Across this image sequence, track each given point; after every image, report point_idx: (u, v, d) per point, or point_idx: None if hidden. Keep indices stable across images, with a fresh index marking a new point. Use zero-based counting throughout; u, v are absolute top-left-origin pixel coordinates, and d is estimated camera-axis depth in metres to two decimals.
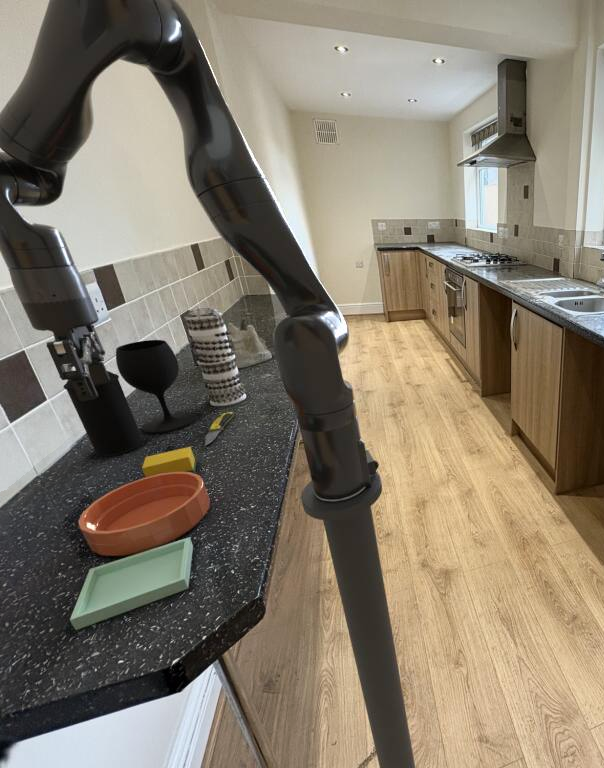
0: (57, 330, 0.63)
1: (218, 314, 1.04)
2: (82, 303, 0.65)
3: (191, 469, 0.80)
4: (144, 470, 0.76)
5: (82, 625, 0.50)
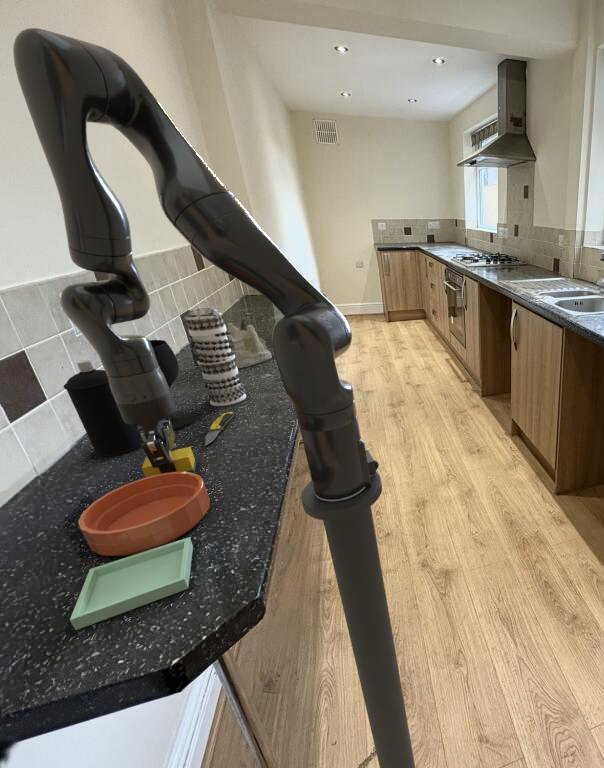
0: (146, 425, 0.72)
1: (218, 314, 1.04)
2: (165, 399, 0.74)
3: (191, 469, 0.80)
4: (144, 470, 0.76)
5: (82, 625, 0.50)
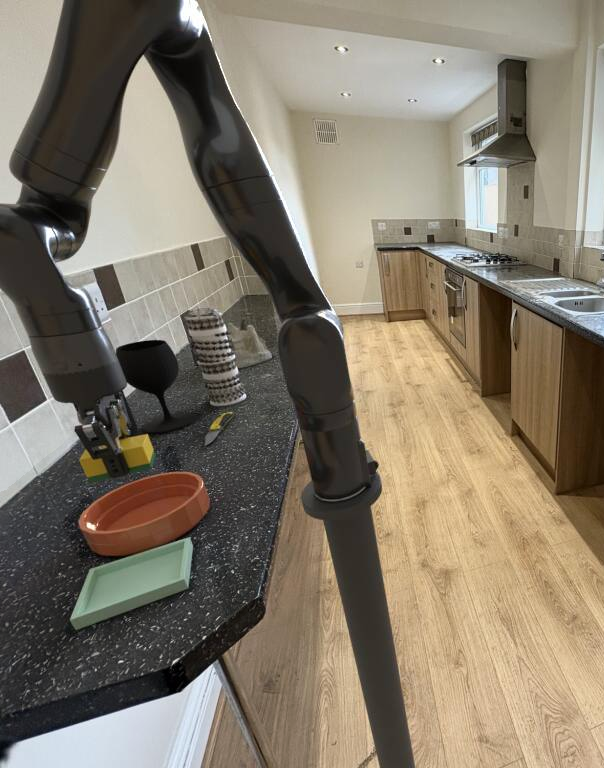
0: (82, 403, 0.55)
1: (218, 314, 1.04)
2: (110, 370, 0.57)
3: (147, 462, 0.62)
4: (82, 463, 0.58)
5: (82, 625, 0.50)
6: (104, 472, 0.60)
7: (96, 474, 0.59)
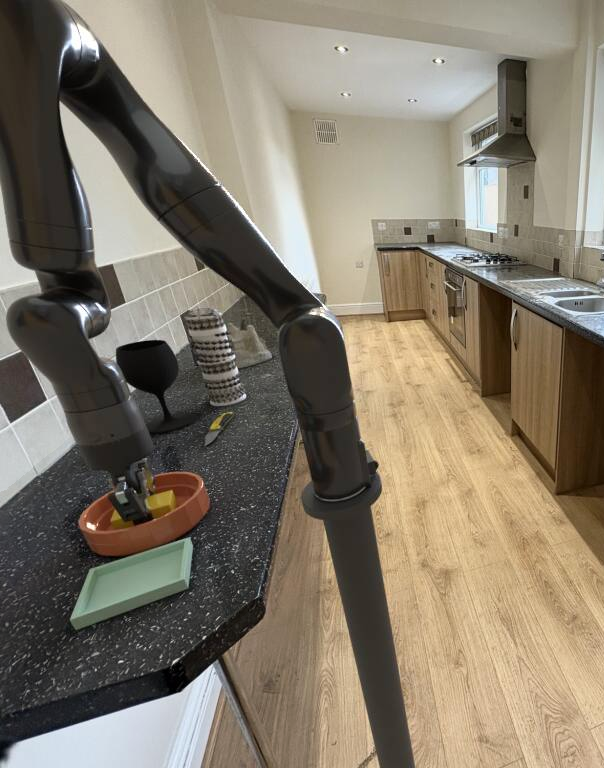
0: (114, 470, 0.58)
1: (218, 314, 1.04)
2: (139, 436, 0.60)
3: None
4: (113, 524, 0.61)
5: (82, 625, 0.50)
6: None
7: None
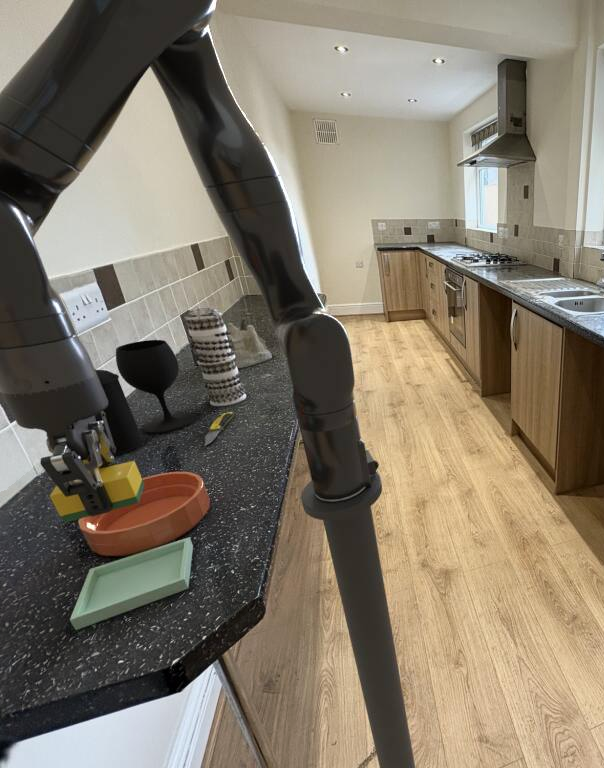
0: (51, 428, 0.45)
1: (218, 314, 1.04)
2: (86, 387, 0.47)
3: (133, 496, 0.52)
4: (54, 499, 0.48)
5: (82, 625, 0.50)
6: (81, 509, 0.50)
7: (71, 512, 0.49)
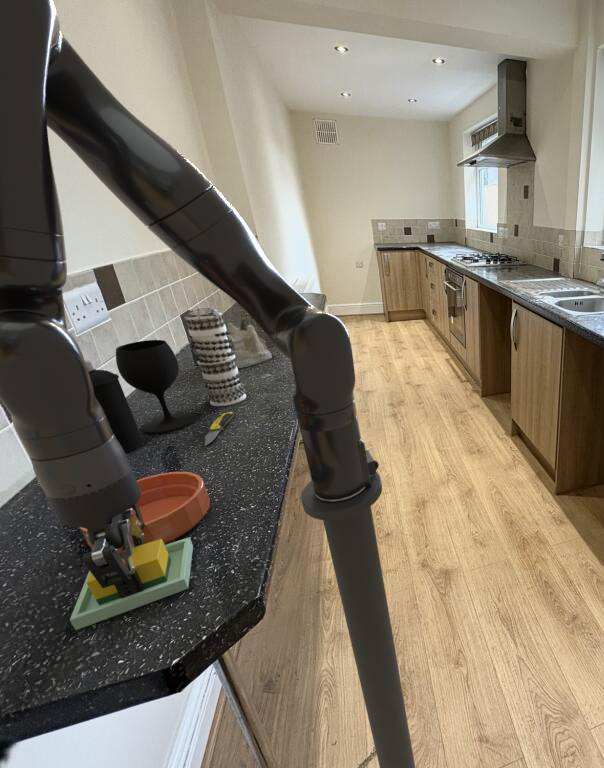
0: (92, 526, 0.48)
1: (218, 314, 1.04)
2: (123, 484, 0.50)
3: (162, 575, 0.55)
4: (90, 585, 0.51)
5: (82, 625, 0.50)
6: (115, 591, 0.53)
7: (105, 595, 0.53)
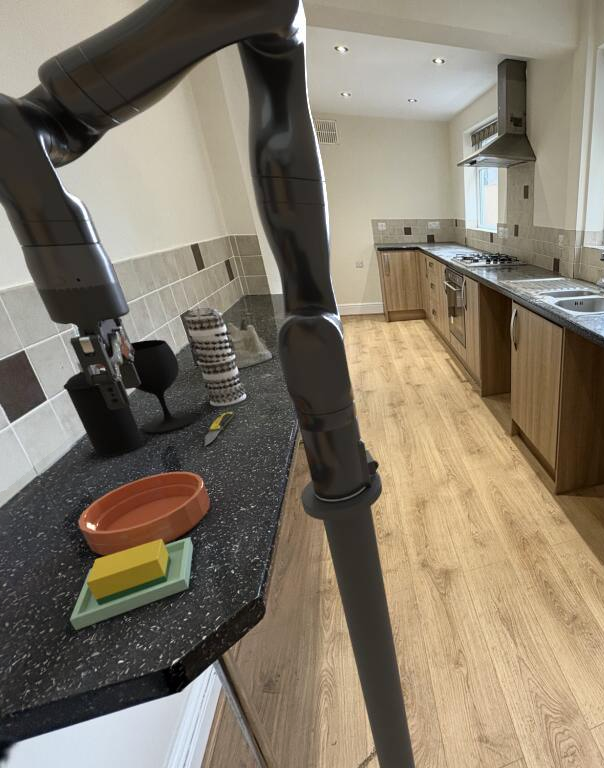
0: (82, 323, 0.51)
1: (218, 314, 1.04)
2: (111, 290, 0.53)
3: (162, 575, 0.55)
4: (90, 585, 0.51)
5: (82, 625, 0.50)
6: (115, 591, 0.53)
7: (105, 595, 0.53)
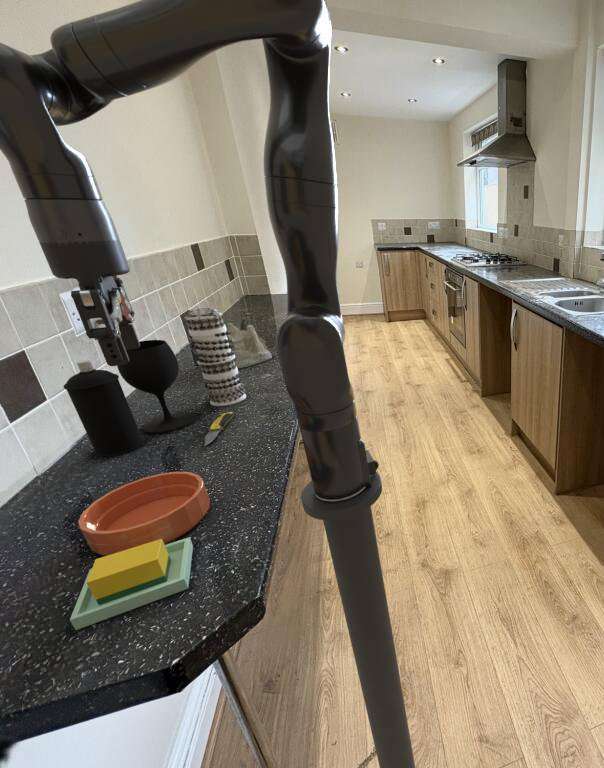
0: (83, 278, 0.52)
1: (218, 314, 1.04)
2: (112, 247, 0.54)
3: (162, 575, 0.55)
4: (90, 585, 0.51)
5: (82, 625, 0.50)
6: (115, 591, 0.53)
7: (105, 595, 0.53)
